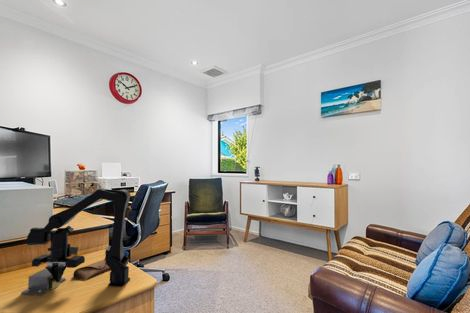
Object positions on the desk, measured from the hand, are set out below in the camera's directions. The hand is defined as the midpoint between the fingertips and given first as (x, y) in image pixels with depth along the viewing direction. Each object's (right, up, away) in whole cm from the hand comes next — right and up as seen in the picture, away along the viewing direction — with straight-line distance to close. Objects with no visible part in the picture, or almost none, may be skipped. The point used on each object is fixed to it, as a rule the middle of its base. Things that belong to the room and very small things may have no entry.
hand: (58, 282), depth 97 cm
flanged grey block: (-6, -2, 0) cm, 6 cm away
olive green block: (-4, -2, 0) cm, 5 cm away
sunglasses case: (+7, -4, +15) cm, 17 cm away
